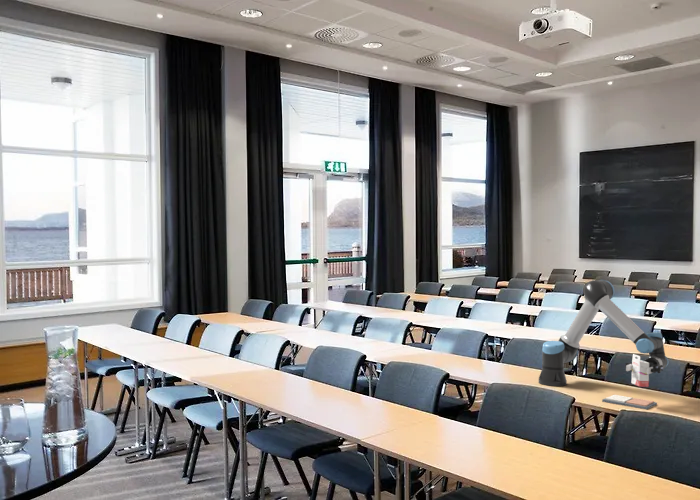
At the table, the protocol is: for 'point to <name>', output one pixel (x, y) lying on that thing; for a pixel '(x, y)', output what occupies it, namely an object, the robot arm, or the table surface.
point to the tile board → (630, 402)
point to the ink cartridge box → (639, 372)
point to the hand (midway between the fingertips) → (637, 369)
